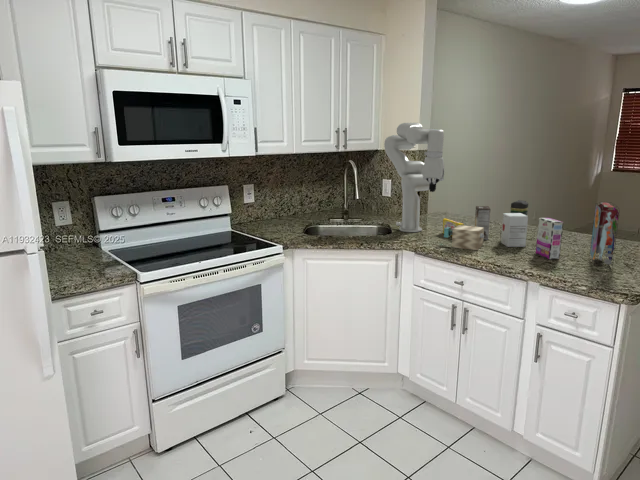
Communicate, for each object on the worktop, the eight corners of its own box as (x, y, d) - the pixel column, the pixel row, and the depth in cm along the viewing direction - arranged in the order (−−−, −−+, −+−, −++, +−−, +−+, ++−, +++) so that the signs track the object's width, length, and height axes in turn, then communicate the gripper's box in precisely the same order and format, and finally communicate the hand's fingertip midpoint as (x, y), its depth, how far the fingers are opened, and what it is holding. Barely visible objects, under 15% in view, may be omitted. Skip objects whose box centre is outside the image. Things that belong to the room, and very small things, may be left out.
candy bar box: (560, 259, 193) (564, 221, 190) (549, 259, 193) (553, 222, 189) (545, 252, 204) (549, 217, 201) (534, 253, 204) (538, 217, 200)
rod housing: (451, 247, 217) (452, 228, 215) (458, 242, 225) (458, 225, 223) (477, 250, 211) (478, 231, 209) (482, 245, 219) (484, 227, 217)
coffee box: (473, 235, 241) (475, 205, 237) (486, 235, 239) (488, 205, 236) (475, 239, 232) (477, 208, 228) (488, 239, 231) (491, 208, 227)
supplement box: (500, 242, 225) (502, 212, 221) (518, 242, 224) (521, 212, 221) (506, 247, 216) (509, 216, 212) (526, 246, 215) (528, 215, 212)
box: (586, 252, 203) (593, 198, 197) (602, 254, 200) (609, 199, 195) (594, 268, 181) (601, 207, 175) (612, 269, 178) (620, 208, 173)
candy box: (442, 233, 248) (442, 218, 246) (445, 233, 248) (446, 218, 247) (460, 239, 233) (461, 223, 231) (463, 239, 234) (464, 223, 232)
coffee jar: (522, 238, 233) (525, 202, 229) (506, 236, 238) (509, 201, 233) (527, 234, 240) (530, 200, 236) (511, 232, 245) (514, 198, 241)
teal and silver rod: (443, 237, 221) (444, 228, 220) (446, 235, 225) (447, 226, 224) (481, 241, 212) (482, 232, 211) (484, 239, 215) (484, 230, 214)
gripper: (417, 154, 227) (415, 191, 232) (446, 156, 218) (443, 194, 223) (423, 153, 232) (421, 189, 238) (451, 155, 224) (449, 191, 229)
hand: (432, 191), depth 230 cm, fingers closed
